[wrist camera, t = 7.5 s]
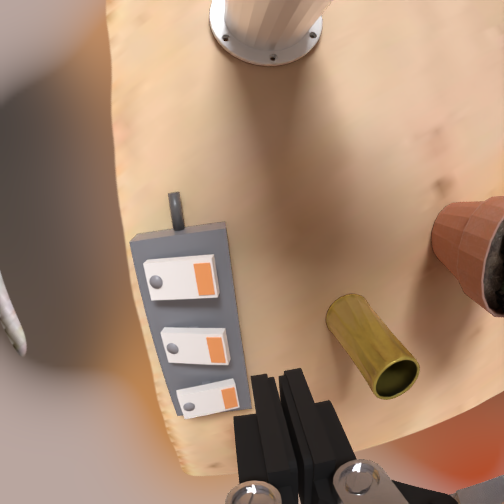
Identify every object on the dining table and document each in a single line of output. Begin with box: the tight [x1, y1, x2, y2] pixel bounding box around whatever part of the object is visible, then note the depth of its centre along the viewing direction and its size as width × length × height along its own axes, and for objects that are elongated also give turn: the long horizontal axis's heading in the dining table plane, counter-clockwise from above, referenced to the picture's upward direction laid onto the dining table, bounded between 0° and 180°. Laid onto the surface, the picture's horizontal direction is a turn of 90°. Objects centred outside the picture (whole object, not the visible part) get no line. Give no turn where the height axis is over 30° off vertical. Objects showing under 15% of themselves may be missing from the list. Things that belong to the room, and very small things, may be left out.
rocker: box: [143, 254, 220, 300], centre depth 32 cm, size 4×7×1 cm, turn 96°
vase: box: [326, 294, 420, 400], centre depth 34 cm, size 6×6×14 cm
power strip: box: [130, 192, 252, 416], centre depth 36 cm, size 28×10×4 cm, turn 6°
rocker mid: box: [161, 327, 231, 365], centre depth 34 cm, size 4×7×1 cm, turn 96°
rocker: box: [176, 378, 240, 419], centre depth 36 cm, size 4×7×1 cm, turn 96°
